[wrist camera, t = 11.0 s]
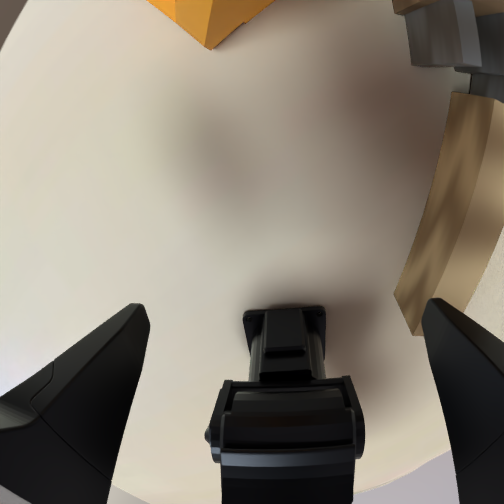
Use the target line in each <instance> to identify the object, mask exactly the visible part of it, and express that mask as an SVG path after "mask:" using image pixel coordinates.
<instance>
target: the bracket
mask: <svg viewBox="0 0 504 504" xmlns="http://www.w3.org/2000/svg"><path fill="white" fill-rule="evenodd" d="M147 1H148V2H150V3H151V4H152V5H154V6H155V7H156V8H157V9H159V10H160V11H161V12H163V13H164V14H165V15H167V16H168V17H169V18H170V19H172V20H173V21H174V22H175V23H177V24H178V25H179V26H180V27H182V28H183V29H184V30H185V31H186V32H188V33H189V34H190V35H191V36H192V37H194V38H195V39H196V40H197V41H198V42H199V43H201V44H202V45H203V46H204V47H206V48H207V49H209V50H212V49H213V48H214V47H215V46H217V45H218V44H219V43H220V42H221V41H222V40H223V39H224V38H225V37H227V36H228V35H229V34H230V33H231V32H232V31H233V30H235V29H236V28H237V27H238V26H239V25H240V24H242V23H243V22H244V23H245V24H246V23H247V22H248V21H250V20H251V19H252V18H253V17H254V16H256V15H257V14H258V13H259V12H261V11H262V10H263V9H265V8H266V7H267V6H268V5H270V4H271V3H272V2H274V1H275V0H147Z"/></svg>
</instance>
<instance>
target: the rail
mask: <svg viewBox="0 0 504 504" xmlns="http://www.w3.org/2000/svg"><path fill="white" fill-rule="evenodd" d="M503 226H504V76H497V75H485V74H473V75H472V83H471V90H470V94H464V93H458V92H452V94H451V100H450V106H449V112H448V117H447V122H446V127H445V132H444V137H443V142H442V146H441V151H440V155H439V159H438V163H437V167H436V171H435V175H434V178H433V182H432V186H431V189H430V193H429V196H428V200H427V203H426V206H425V209H424V213H423V216H422V219H421V222H420V225H419V228H418V231H417V234H416V237H415V240H414V243H413V245H412V248H411V251H410V254H409V256H408V259H407V262H406V264H405V267H404V270H403V272H402V275H401V277H400V280H399V282H398V285H397V287H396V289H395V292H394V296H395V298H396V300H397V302H398V304H399V307H400V309H401V311H402V313H403V315H404V318H405V320H406V322H407V324H408V327H409V329H410V331H411V334H412V336H424V334H423V329H422V325H421V319H422V315H423V312H424V309H425V306H426V303H427V301H428V299H430V298H438V297H439V298H442V299H443V300H445V301H446V302H448V303H449V304H451V305H452V306H453V307H455V308H456V309H458V310H459V311H461V312H462V313H463V312H464V310H465V309H466V307H467V305H468V303H469V301H470V299H471V297H472V295H473V294H474V292H475V290H476V288H477V286H478V284H479V282H480V279H481V277H482V275H483V273H484V271H485V269H486V267H487V265H488V262H489V260H490V258H491V255H492V253H493V251H494V248H495V246H496V244H497V241H498V239H499V236H500V234H501V231H502V228H503Z"/></svg>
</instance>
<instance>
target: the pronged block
mask: <svg viewBox="0 0 504 504" xmlns="http://www.w3.org/2000/svg"><path fill="white" fill-rule="evenodd" d="M392 2H393V7H394V13H395V14H402V15H405V19H406V25H407V32H408V39H409V46H410V54H411V63H412V65H413V66H423V67H455V71H458V72H464V73H470V74H485V75H497V76H504V0H392Z"/></svg>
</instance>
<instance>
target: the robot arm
mask: <svg viewBox="0 0 504 504" xmlns="http://www.w3.org/2000/svg"><path fill="white" fill-rule="evenodd" d="M318 312H321V313H318ZM247 317H250V319H249V318H247ZM243 324H244V329H245V333H246V338H247V343H248V348H249V352H250V357H251V358H250V369H249V381H233V380H225V381H224V384H223V387H222V389H220V392H219V395H218V398H217V401H216V405H215V408H214V411H213V414H212V417H211V420H210V423H209V426H208V428H207V429H206V431H205V440H206V441H207V442H208V443H209V444H210V447H211V453H212V458H213V461H214V462H215V463H220V464H221V488H222V504H352V502H353V485H354V472H355V459H360V458H361V457H362V455H363V451H364V446H365V423H364V417H363V412H362V409H361V406H360V403H359V400H358V397H357V395H356V392H355V389H354V386H353V383H352V380H351V378H350V375H349V376H342V377H341V378H328V379H326V375H325V367H324V359H325V330H326V312H325V308H324V307H322V306H315V307H304V308H292V309H279V310H265V311H249V312H245V313H244V314H243ZM421 325H422V329H423V334H424V338H425V343H426V348H427V353H428V358H429V362H430V366H431V370H432V373H433V377H434V380H435V383H436V387H437V391H438V394H439V398H440V402H441V406H442V410H443V414H444V418H445V422H446V426H447V431H448V435H449V440H450V445H451V450H452V455H453V461H454V466H455V472H456V480H457V487H458V494H459V502H460V504H504V342H502V341H501V340H500V339H498V338H497V337H496V336H494V335H493V334H492V333H490V332H489V331H487V330H486V329H485V328H483V327H482V326H481V325H479V324H478V323H476V322H475V321H474V320H472V319H471V318H469V317H468V316H466V315H465V314H464V313H462V312H461V311H459V310H458V309H456V308H455V307H453V306H452V305H451V304H449V303H448V302H446V301H445V300H443V299H442V298H439V297H438V298H430V299H428V301H427V303H426V306H425V309H424V312H423V315H422V319H421ZM149 333H150V322H149V319H148V316H147V313H146V310H145V307H144V305H143V304H140V303H131V304H129V305H127V306H126V307H125V308H123V309H122V310H121V311H119V312H118V313H116V314H115V315H114V316H112V317H111V318H110V319H108V320H107V321H105V322H104V323H103V324H101V325H100V326H99V327H97V328H96V329H95V330H93V331H92V332H91V333H89V334H88V335H86V336H85V337H84V338H82V339H81V340H80V341H78V342H77V343H76V344H74V345H73V346H72V347H70V348H69V349H68V350H66V351H65V352H64V353H62V354H61V355H60V356H58V357H57V358H56V359H54V361H52V362H50V363H49V364H48V365H46V366H45V367H44V368H42V369H41V370H40V371H38V372H37V373H36V374H34V375H33V376H31V377H30V378H28V379H27V380H25V381H24V382H22V383H21V384H19V385H18V386H16V387H15V388H13V389H11V390H10V391H8V392H7V393H5V394H4V395H2V396H1V397H0V504H107V500H108V495H109V491H110V487H111V482H112V481H111V480H112V477H113V473H114V469H115V465H116V461H117V457H118V453H119V449H120V445H121V441H122V438H123V434H124V430H125V426H126V423H127V419H128V416H129V412H130V409H131V405H132V402H133V398H134V395H135V392H136V388H137V385H138V382H139V378H140V375H141V371H142V367H143V363H144V358H145V352H146V347H147V342H148V337H149Z"/></svg>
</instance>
